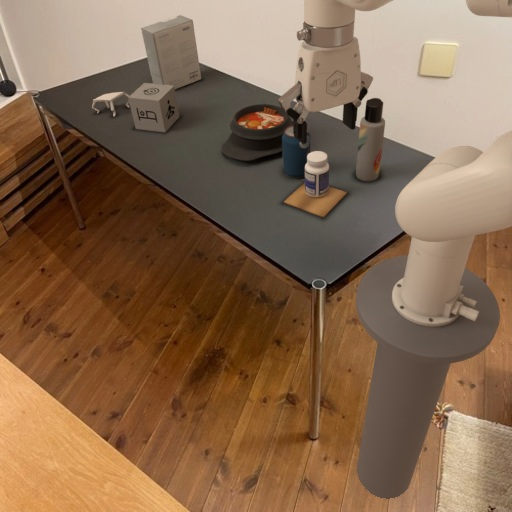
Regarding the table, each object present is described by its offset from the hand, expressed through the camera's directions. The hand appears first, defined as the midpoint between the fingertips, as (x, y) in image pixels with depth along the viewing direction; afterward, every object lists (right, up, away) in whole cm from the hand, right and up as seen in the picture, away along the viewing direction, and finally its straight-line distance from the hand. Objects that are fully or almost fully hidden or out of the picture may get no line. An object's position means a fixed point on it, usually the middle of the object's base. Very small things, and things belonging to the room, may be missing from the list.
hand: (325, 133), depth 89 cm
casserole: (-10, +10, +54) cm, 56 cm away
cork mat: (+2, -8, +33) cm, 34 cm away
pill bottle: (+3, -6, +35) cm, 35 cm away
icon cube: (-42, +19, +67) cm, 81 cm away
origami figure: (-57, +25, +74) cm, 97 cm away
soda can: (-2, 0, +42) cm, 42 cm away
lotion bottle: (+16, -1, +39) cm, 42 cm away
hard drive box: (-39, +38, +87) cm, 103 cm away
